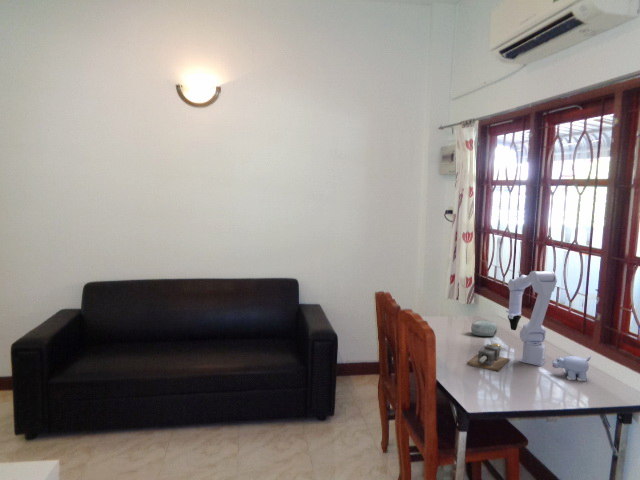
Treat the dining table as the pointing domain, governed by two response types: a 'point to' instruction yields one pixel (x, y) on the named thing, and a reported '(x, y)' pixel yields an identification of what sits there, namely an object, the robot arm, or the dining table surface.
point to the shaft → (487, 355)
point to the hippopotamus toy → (573, 366)
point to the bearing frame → (489, 358)
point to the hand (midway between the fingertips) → (513, 329)
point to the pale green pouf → (484, 328)
